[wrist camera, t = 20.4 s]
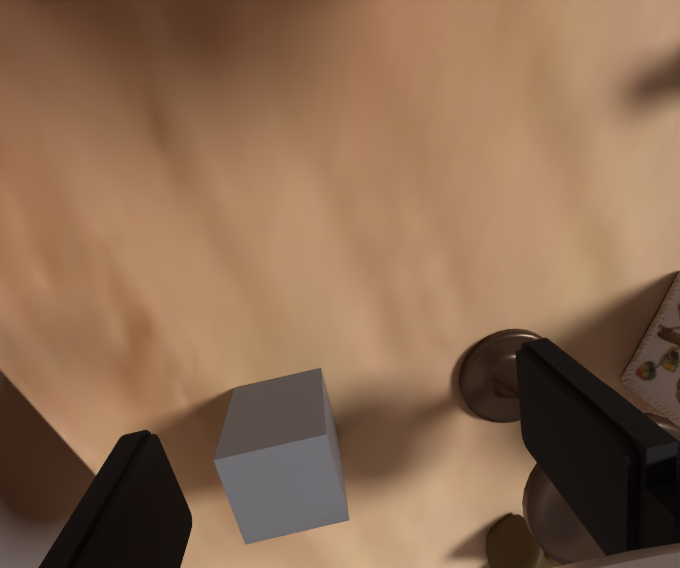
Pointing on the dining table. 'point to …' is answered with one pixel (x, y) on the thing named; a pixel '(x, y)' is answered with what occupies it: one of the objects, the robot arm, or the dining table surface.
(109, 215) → the dining table surface
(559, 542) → the candlestick
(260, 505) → the matte gray cube
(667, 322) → the decorative jar
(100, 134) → the dining table surface
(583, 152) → the dining table surface
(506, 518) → the kendama
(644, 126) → the dining table surface
